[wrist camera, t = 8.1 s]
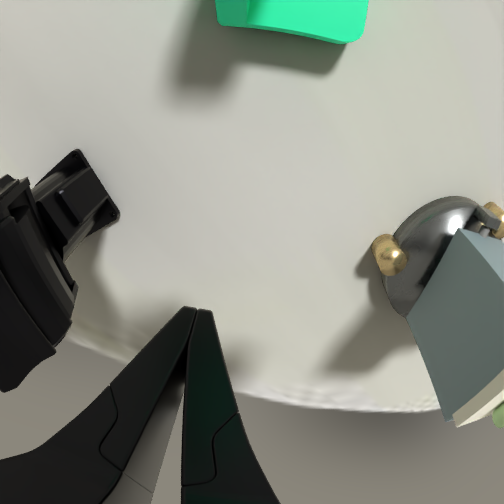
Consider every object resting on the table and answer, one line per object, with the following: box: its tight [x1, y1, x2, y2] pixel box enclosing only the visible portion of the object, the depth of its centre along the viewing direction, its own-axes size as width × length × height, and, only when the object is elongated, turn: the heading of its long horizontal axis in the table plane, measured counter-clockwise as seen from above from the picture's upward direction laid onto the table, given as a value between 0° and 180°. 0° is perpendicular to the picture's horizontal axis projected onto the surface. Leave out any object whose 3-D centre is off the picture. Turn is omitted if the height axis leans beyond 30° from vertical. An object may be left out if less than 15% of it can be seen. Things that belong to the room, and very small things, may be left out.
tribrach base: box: [371, 196, 504, 318], centre depth 21 cm, size 13×13×4 cm
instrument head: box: [406, 224, 504, 428], centre depth 15 cm, size 10×10×13 cm
